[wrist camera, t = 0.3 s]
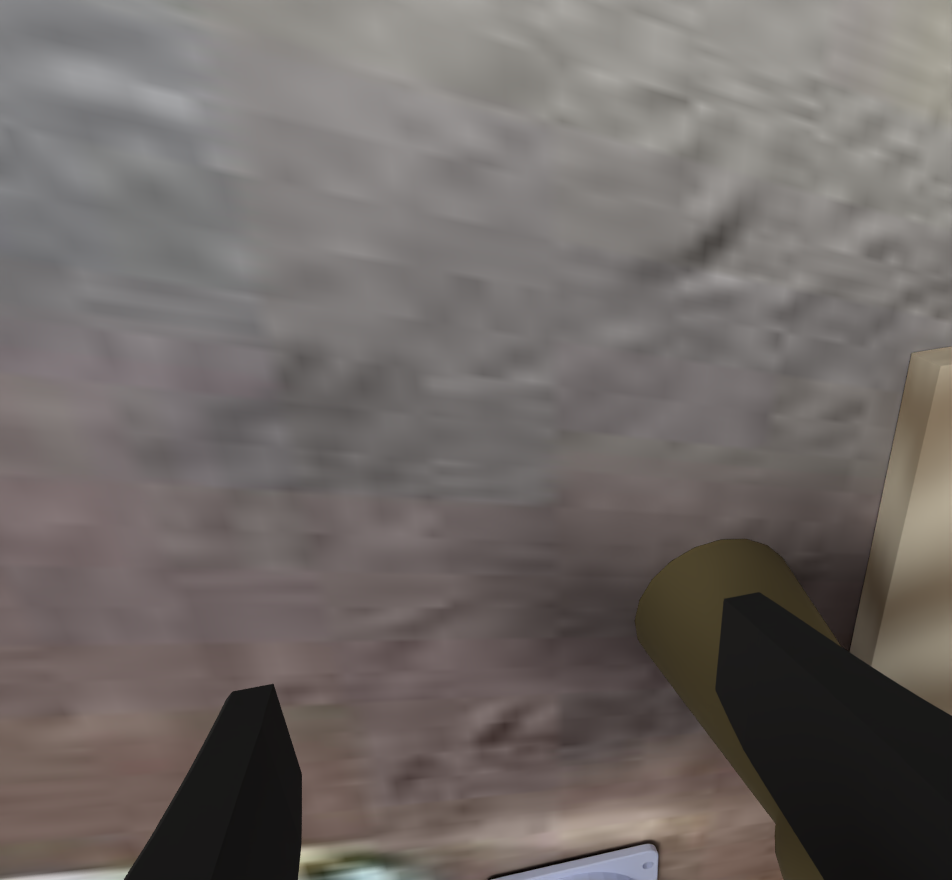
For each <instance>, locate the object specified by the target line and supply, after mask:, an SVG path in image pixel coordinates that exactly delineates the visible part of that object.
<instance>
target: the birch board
mask: <svg viewBox="0 0 952 880" xmlns="http://www.w3.org/2000/svg"><path fill="white" fill-rule="evenodd" d="M850 653H851V654H853V655H854V656H856V657H857V658H859V659H861V660H862V661H864V662H865V663H867V664H868V665H870V666H871V667H873V668H874V669H876V670H878V671H879V672H881V673H882V674H884V675H885V676H887V677H889V678H890V679H892V680H893V681H895V682H896V683H898V684H900V685H901V686H903V687H904V688H906V689H908V690H909V691H911V692H913V693H914V694H916V695H918V696H919V697H921V698H922V699H924V700H926V701H927V702H929V703H931V704H933V705H934V706H936V707H938V708H939V709H941V710H943V711H945V712H946V713H948V714H950V715H951V716H952V347H945V348H939V349H933V350H927V351H921V352H914V353H912V355H911V360H910V364H909V369H908V374H907V379H906V384H905V388H904V393H903V398H902V403H901V408H900V412H899V417H898V422H897V427H896V432H895V436H894V441H893V446H892V451H891V456H890V460H889V465H888V470H887V475H886V479H885V484H884V489H883V494H882V499H881V503H880V508H879V513H878V518H877V523H876V527H875V532H874V537H873V542H872V547H871V551H870V556H869V561H868V566H867V571H866V575H865V580H864V585H863V590H862V595H861V599H860V604H859V609H858V614H857V619H856V623H855V628H854V633H853V638H852V643H851V647H850Z"/></svg>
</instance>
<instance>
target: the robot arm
mask: <svg viewBox="0 0 952 880" xmlns="http://www.w3.org/2000/svg"><path fill="white" fill-rule="evenodd" d="M715 691H716V693H717V695H718V697H719V699H720V702H721V704H722V706H723V708H724V710H725V713H726V715H727V717H728V719H729V721H730V724H731V726H732V728H733V730H734V732H735V734H736V736H737V738H738V740H739V742H740V744H741V746H742V748H743V750H744V752H745V753H746V755H747V757H748V758H749V760H750V762H751V763H752V765H753V767H754V768H755V770H756V772H757V773H758V775H759V776H760V778H761V780H762V781H763V783H764V785H765V786H766V788H767V789H768V791H769V793H770V794H771V796H772V798H773V799H774V801H775V802H776V804H777V805H778V807H779V809H780V810H781V812H782V813H783V815H784V817H785V818H786V820H787V821H788V823H789V825H790V826H791V828H792V829H793V831H794V833H795V834H796V836H797V837H798V839H799V841H800V842H801V844H802V845H803V847H804V849H805V850H806V852H807V853H808V855H809V857H810V858H811V860H812V861H813V863H814V865H815V866H816V868H817V869H818V871H819V873H820V874H821V876H822V877H823V879H824V880H952V716H951V715H950V714H948V713H946V712H945V711H943V710H941V709H939V708H938V707H936V706H934V705H933V704H931V703H929V702H927V701H926V700H924V699H922V698H921V697H919V696H918V695H916V694H914V693H913V692H911V691H909V690H908V689H906V688H904V687H903V686H901V685H900V684H898V683H896V682H895V681H893V680H892V679H890V678H889V677H887V676H885V675H884V674H882V673H881V672H879V671H878V670H876V669H874V668H873V667H871V666H870V665H868V664H867V663H865V662H864V661H862V660H861V659H859V658H857V657H856V656H854V655H853V654H851V653H850V652H848V651H847V650H845V649H844V648H842V647H841V646H839V645H838V644H836V643H835V642H833V641H832V640H830V639H829V638H827V637H826V636H824V635H823V634H821V633H820V632H818V631H817V630H816V629H814V628H813V627H811V626H810V625H808V624H807V623H805V622H804V621H802V620H801V619H799V618H798V617H796V616H795V615H793V614H792V613H790V612H789V611H787V610H786V609H784V608H783V607H781V606H780V605H778V604H777V603H775V602H774V601H772V600H771V599H769V598H768V597H766V596H765V595H763V594H762V593H760V592H757V593H752V594H746V595H741V596H736V597H730V598H725V599H724V602H723V612H722V623H721V633H720V643H719V654H718V664H717V675H716V685H715ZM301 833H302V773H301V770H300V767H299V764H298V760H297V757H296V754H295V751H294V748H293V745H292V741H291V738H290V735H289V732H288V729H287V725H286V722H285V719H284V716H283V713H282V710H281V706H280V703H279V700H278V697H277V694H276V691H275V687H274V684H270V685H265V686H260V687H254V688H249V689H244V690H239V691H233V692H232V693H231V694H230V695H229V697H228V698H227V699H226V701H225V703H224V705H223V707H222V709H221V711H220V713H219V715H218V717H217V719H216V721H215V723H214V725H213V727H212V729H211V731H210V732H209V734H208V736H207V738H206V740H205V742H204V744H203V746H202V748H201V749H200V751H199V753H198V755H197V757H196V759H195V761H194V762H193V764H192V766H191V768H190V770H189V772H188V773H187V775H186V777H185V779H184V781H183V782H182V784H181V786H180V788H179V789H178V791H177V793H176V794H175V796H174V798H173V800H172V801H171V803H170V805H169V807H168V808H167V810H166V812H165V813H164V815H163V817H162V819H161V820H160V822H159V824H158V825H157V827H156V829H155V831H154V832H153V834H152V836H151V837H150V839H149V841H148V842H147V844H146V845H145V847H144V849H143V850H142V852H141V853H140V855H139V856H138V858H137V860H136V861H135V863H134V864H133V866H132V867H131V869H130V871H129V872H128V874H127V875H126V877H125V878H124V880H298V872H299V862H300V852H301ZM657 877H658V852H657V850H656V847H655V846H654V845H652V844H643V845H638V846H634V847H630V848H625V849H621V850H617V851H612V852H608V853H604V854H599V855H595V856H591V857H586V858H582V859H577V860H573V861H569V862H564V863H560V864H556V865H551V866H547V867H543V868H538V869H534V870H529V871H525V872H521V873H516V874H512V875H508V876H503V877H499V878H495V879H491V880H657Z"/></svg>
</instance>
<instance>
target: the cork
mask: <svg viewBox="0 0 952 880" xmlns="http://www.w3.org/2000/svg"><path fill="white" fill-rule="evenodd" d="M757 592H760V593H762V594H763V595H765V596H766V597H768V598H769V599H771V600H772V601H774V602H775V603H777V604H778V605H780V606H781V607H783V608H784V609H786V610H787V611H789V612H790V613H792V614H793V615H795V616H796V617H798V618H799V619H801V620H802V621H804V622H805V623H807V624H808V625H810V626H811V627H813V628H814V629H816V630H817V631H818V632H820V633H821V634H823V635H824V636H826V637H827V638H829V639H830V640H832V641H833V642H835V643H836V644H838V645H839V646H841V645H840V644H839V642H838V641H837V639H836V638H835V636H834V635H833V633H832V632H831V630H830V629H829V627H828V626H827V624H826V623H825V621H824V620H823V618H822V617H821V615H820V614H819V612H818V611H817V609H816V608H815V606H814V605H813V603H812V602H811V600H810V599H809V597H808V596H807V594H806V593H805V591H804V590H803V588H802V587H801V585H800V584H799V582H798V581H797V579H796V578H795V576H794V575H793V573H792V572H791V570H790V569H789V567H788V566H787V564H786V563H785V561H784V560H783V558H782V557H781V556H780V555H778V554H777V553H776V552H775V551H773V550H772V549H771V548H770V547H769V546H767V545H765V544H761V543H758V542H754V541H751V540H748V539H726V540H718V541H715V542H711V543H708V544H705V545H701V546H698V547H695V548H693V549H691V550H690V551H688V552H686V553H684V554H683V555H681V556H679V557H678V558H676V559H674V560H672V561H671V562H670V563H669V564H668V565H667V566H666V567H665V568H664V569H663V570H661V571H660V572H659V573H658V574H657V575H656V576H655V577H654V578H653V579H652V580H651V582H650V584H649V585H648V587H647V589H646V590H645V592H644V594H643V595H642V597H641V599H640V600H639V605H638V609H637V613H636V618H635V625H636V632H637V638H638V640H639V642H640V643H641V645H642V646H643V648H644V649H645V651H646V652H647V654H648V655H649V656H650V658H651V659H652V660H653V662H654V663H655V664H656V666H657V667H658V668H659V670H660V671H661V672H662V674H663V675H664V676H665V678H666V679H667V680H668V682H669V683H670V684H671V686H672V687H673V688H674V690H675V691H676V692H677V694H678V695H679V696H680V698H681V699H682V700H683V702H684V703H685V704H686V706H687V707H688V708H689V709H690V711H691V712H692V713H693V715H694V716H695V717H696V719H697V720H698V721H699V723H700V724H701V725H702V727H703V728H704V729H705V731H706V732H707V733H708V735H709V736H710V737H711V739H712V740H713V741H714V743H715V744H716V745H717V747H718V748H719V749H720V751H721V752H722V753H723V755H724V756H725V757H726V759H727V760H728V761H729V763H730V764H731V765H732V767H733V768H734V769H735V771H736V772H737V773H738V775H739V776H740V777H741V778H742V780H743V781H744V782H745V784H746V785H747V786H748V788H749V789H750V790H751V792H752V793H753V794H754V796H755V797H756V798H757V800H758V801H759V802H760V804H761V805H762V806H763V808H764V809H765V810H766V812H767V813H768V814H769V816H770V817H771V818H772V820H773V821H774V822H775V824H776V826H775V853H776V856H777V860H778V863H779V867H780V870H781V873H782V877H783V879H784V880H824V879H823V877H822V876H821V874H820V873H819V871H818V869H817V868H816V866H815V865H814V863H813V861H812V860H811V858H810V857H809V855H808V853H807V852H806V850H805V849H804V847H803V845H802V844H801V842H800V841H799V839H798V837H797V836H796V834H795V833H794V831H793V829H792V828H791V826H790V825H789V823H788V821H787V820H786V818H785V817H784V815H783V813H782V812H781V810H780V809H779V807H778V805H777V804H776V802H775V801H774V799H773V798H772V796H771V794H770V793H769V791H768V789H767V788H766V786H765V785H764V783H763V781H762V780H761V778H760V776H759V775H758V773H757V772H756V770H755V768H754V767H753V765H752V763H751V762H750V760H749V758H748V757H747V755H746V753H745V752H744V750H743V748H742V746H741V744H740V742H739V740H738V738H737V736H736V734H735V732H734V730H733V728H732V726H731V724H730V721H729V719H728V717H727V715H726V713H725V710H724V708H723V706H722V704H721V702H720V699H719V697H718V695H717V693H716V691H715V685H716V675H717V664H718V654H719V643H720V633H721V623H722V612H723V602H724V599H725V598H730V597H736V596H741V595H746V594H752V593H757Z"/></svg>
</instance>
